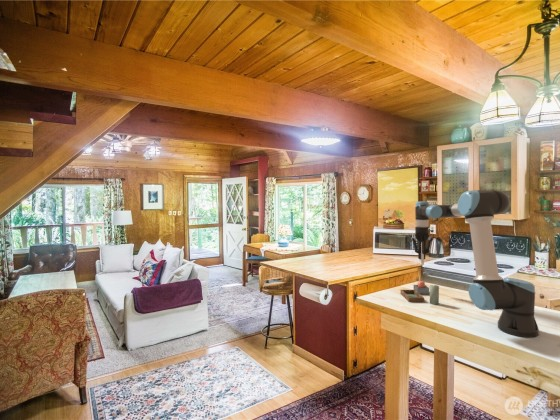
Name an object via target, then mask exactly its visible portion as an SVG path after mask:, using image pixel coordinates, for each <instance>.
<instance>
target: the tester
mask: <svg viewBox="0 0 560 420" xmlns="http://www.w3.org/2000/svg"><path fill="white" fill-rule="evenodd" d="M413 290H416V291H417V292H418V293H419V294H420V295H430V286H429V287H428V286H427V284H425V288H421V287H418V284H413Z"/></svg>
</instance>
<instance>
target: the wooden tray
mask: <svg viewBox="0 0 560 420" xmlns="http://www.w3.org/2000/svg"><path fill="white" fill-rule="evenodd" d="M400 295H401V296H402V297H403V298H404V299H405V300H406V301H407V302H408V303H425V296H423V294H419V293H418V292H417V291H416V290H414V289H400Z"/></svg>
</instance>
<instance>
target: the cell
mask: <svg viewBox="0 0 560 420" xmlns="http://www.w3.org/2000/svg"><path fill="white" fill-rule="evenodd" d="M439 298H440V285H437V284H430V285H429V304H430V305H432V306H438V305H439V304H440V303H439V302H440V299H439Z"/></svg>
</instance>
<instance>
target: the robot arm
mask: <svg viewBox="0 0 560 420" xmlns="http://www.w3.org/2000/svg"><path fill="white" fill-rule="evenodd" d="M510 204H511V200H510V198H509V196H508V194H507V193H505V192H503V191H502V190H497V189H492V190H490V189H489V190H488V189H487V190H486V189H485V190H481V189H474V190H467V191H464V192H462V194H461V195H460V196H459V199H458V201H457V203H453V204H430V203H429V201H416V202H415V207H414V211H415V214H414V215H415V216H414V218H415V221H414V223H415V227H414V228H415V230H414V231H415V232H414V236H413V237H411V238H410V239H411V240H410V241H412V245H413V248H414V252H415V253H416V254H417V255H418V257H417V258H418V260H419V265H421V266H424V265H425V259H426V254H428V253H430V249H431V245H432V241H433V240H434V238H433V237H431V236H430V234H429V232H430V231H429V228H430V227H429V223H430V222H429V218H430V219H442V218H461V217H464V221H466V222H467V223H468V224H469V231H470V240H471V244H472V245H471V246H472V247H471V248H472V253H473V261H474V268H475V269H474V270H475V273H476V275H475V276H474V277H473V280H472V281H473V282H472V283H471V284H470V285H469V288H468V295H469V298H470V300H471V302H472V303H473V304H474V306H475V307H476V308H477V309H479V310H481V311H494V310H495V311H496V310H498V311H499V310H501V311H502V312H501V314H500V316H499V318H498V319H497V328H498V329H499V330H500V331H502V332H503V333H506V334H508V335H511V336H517V337H520V338H521V337H522V338H535V337H538V336H539V334H540V333H539V332H540V331H539V327H538V323H537V320H536V317H535V305H536V304H535V303H536V301H535V300H536V289H535V287H536V286H535V285H534V283H533V282H530V281H527V280H525V279H518V278H514V277H504V278H503V277H502V276H501V275H500V274H499V269H498V261H497V255H496V249H495V242H494V236H493V229H492V221H493V219H494V218H495V216H496V215H501V214H503V213H506V212H507V211H508V210H509V207H510V206H511V205H510ZM416 240H417V241H416Z"/></svg>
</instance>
